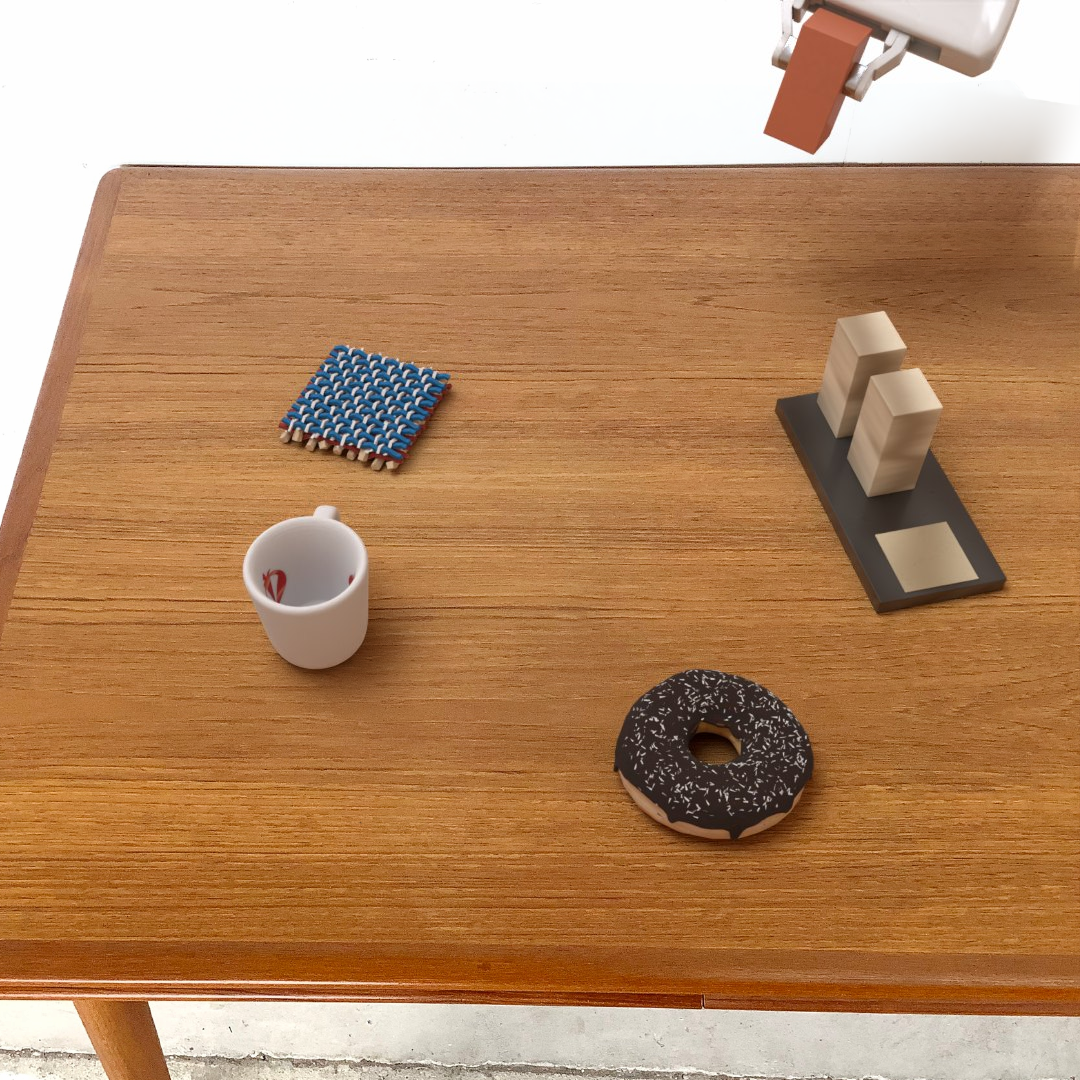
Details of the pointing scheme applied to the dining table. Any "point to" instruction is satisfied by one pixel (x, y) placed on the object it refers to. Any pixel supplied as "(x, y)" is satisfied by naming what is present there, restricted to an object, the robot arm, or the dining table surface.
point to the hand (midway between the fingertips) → (816, 80)
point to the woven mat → (365, 406)
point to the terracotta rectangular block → (816, 80)
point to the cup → (310, 588)
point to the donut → (704, 789)
